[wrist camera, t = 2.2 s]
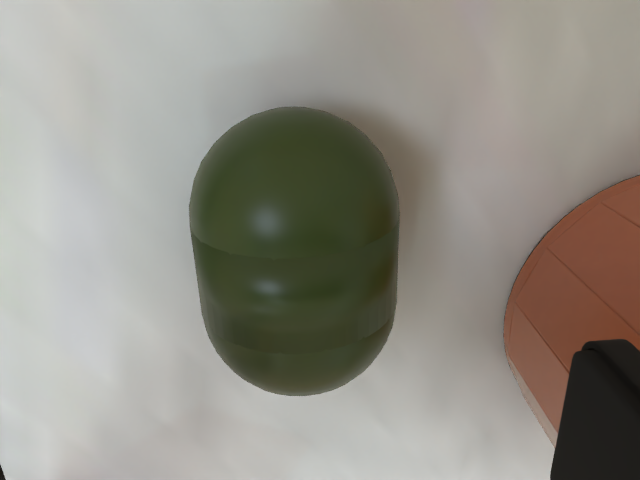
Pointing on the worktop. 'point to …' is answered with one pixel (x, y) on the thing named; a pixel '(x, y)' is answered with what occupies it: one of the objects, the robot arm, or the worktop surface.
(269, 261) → the avocado
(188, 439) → the worktop surface
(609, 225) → the terracotta bowl
